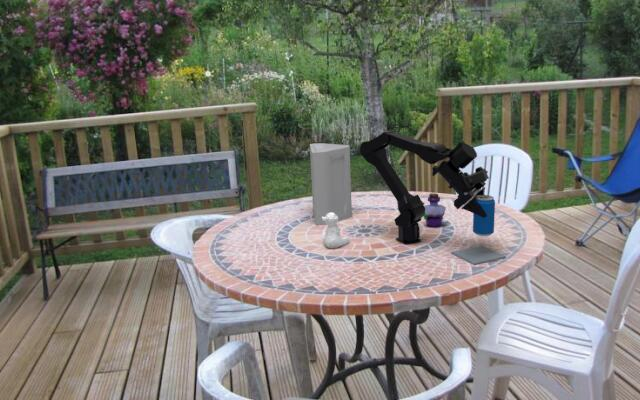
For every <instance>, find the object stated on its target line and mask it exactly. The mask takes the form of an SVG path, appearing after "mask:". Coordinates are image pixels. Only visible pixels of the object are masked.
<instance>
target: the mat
mask: <svg viewBox="0 0 640 400" xmlns="http://www.w3.org/2000/svg"><path fill="white" fill-rule="evenodd" d="M450 253H451V254H452V255H453V256H455V257H457V258H460V259H461V260H464V261H465V262H467V263H470V264H471V265H473V266H477V265H481V264H485V263H490V262H494V261H500V260H502V259H503V260H504V259H506V258H507V255H505V254H502V253H500V252H498V251H496V250H493V249H491V248H488V247H486V246H484V245H482V244H481V245H477V246H473V247H467V248H462V249H459V250H454V251H451V252H450Z"/></svg>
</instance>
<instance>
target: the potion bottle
mask: <svg viewBox="0 0 640 400" xmlns="http://www.w3.org/2000/svg"><path fill="white" fill-rule="evenodd" d="M440 201H441V197H440V196H439V194H438V193H433V192H432V193H429V195H428V197H427V202H428V203H429V204H424V207H425V214H424V216H423V217H422V218H424V220H425V224H426V227H428V228H431V229H432V228H433V229H437V228H441V227H442V223H443V219H444V215H445V212H446V208H447V207H446V206H444V205H442V204H439V202H440Z"/></svg>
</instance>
